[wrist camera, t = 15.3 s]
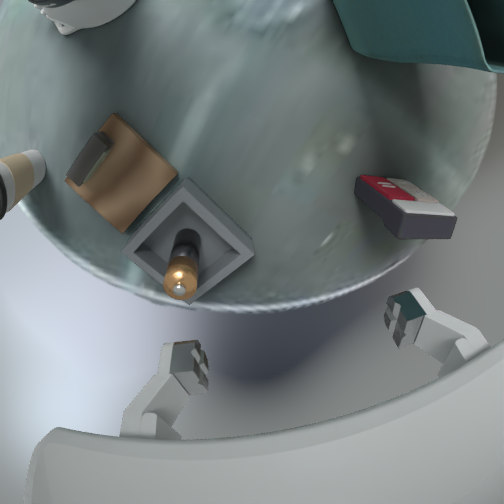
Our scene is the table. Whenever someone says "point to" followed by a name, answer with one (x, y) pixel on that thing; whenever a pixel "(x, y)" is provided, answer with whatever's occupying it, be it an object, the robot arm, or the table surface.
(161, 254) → the bin
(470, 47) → the flower pot
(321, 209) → the table surface
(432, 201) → the grey box
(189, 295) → the battery cell
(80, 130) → the table surface
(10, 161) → the coffee cup
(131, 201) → the plate
